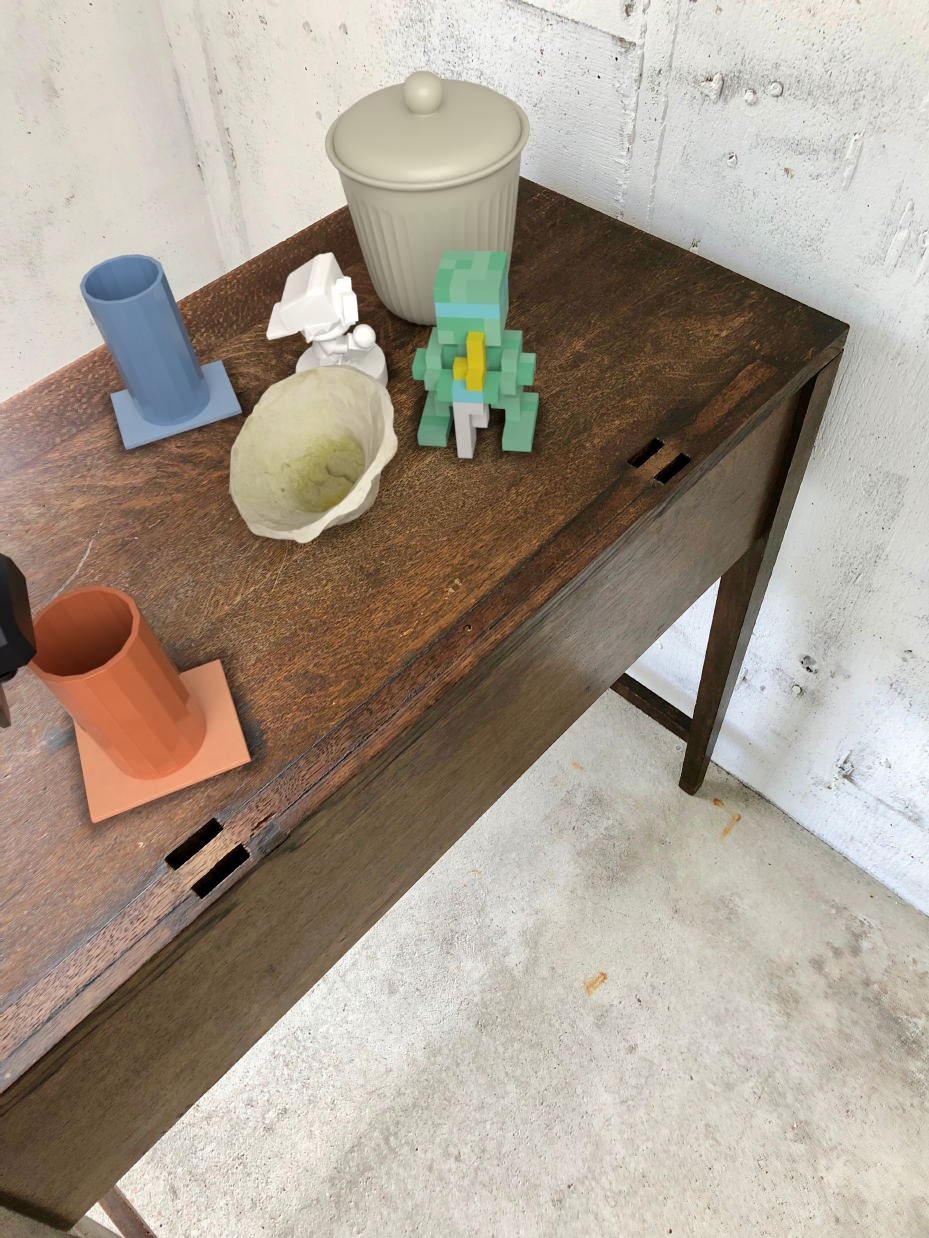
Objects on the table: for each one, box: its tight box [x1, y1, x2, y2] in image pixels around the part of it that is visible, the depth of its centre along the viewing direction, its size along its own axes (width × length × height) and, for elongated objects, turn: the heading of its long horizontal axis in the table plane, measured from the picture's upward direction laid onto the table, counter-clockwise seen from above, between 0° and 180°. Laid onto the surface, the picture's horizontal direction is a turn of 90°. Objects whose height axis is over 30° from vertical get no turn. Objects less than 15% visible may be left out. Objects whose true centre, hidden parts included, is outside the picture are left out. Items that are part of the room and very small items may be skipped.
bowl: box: [228, 365, 399, 544], centre depth 70 cm, size 15×14×10 cm
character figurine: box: [265, 251, 389, 389], centre depth 79 cm, size 9×10×12 cm
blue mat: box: [109, 359, 243, 451], centre depth 83 cm, size 11×8×1 cm
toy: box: [411, 250, 540, 459], centre depth 73 cm, size 10×10×15 cm
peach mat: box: [72, 658, 252, 824], centre depth 62 cm, size 11×9×1 cm
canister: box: [324, 70, 531, 327], centre depth 82 cm, size 18×18×21 cm
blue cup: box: [79, 253, 210, 426], centre depth 77 cm, size 7×7×13 cm
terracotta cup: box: [25, 584, 206, 780], centre depth 56 cm, size 7×7×13 cm
